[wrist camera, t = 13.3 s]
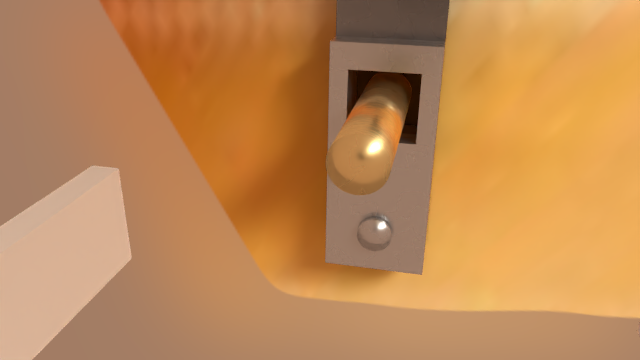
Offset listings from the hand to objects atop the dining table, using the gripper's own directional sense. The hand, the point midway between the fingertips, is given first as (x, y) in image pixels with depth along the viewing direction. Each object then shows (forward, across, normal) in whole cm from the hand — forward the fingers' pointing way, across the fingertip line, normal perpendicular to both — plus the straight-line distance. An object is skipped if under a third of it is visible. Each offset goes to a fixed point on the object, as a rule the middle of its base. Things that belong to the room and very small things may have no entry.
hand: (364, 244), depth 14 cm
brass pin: (+27, -2, -4) cm, 28 cm away
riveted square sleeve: (+27, -2, -4) cm, 28 cm away
